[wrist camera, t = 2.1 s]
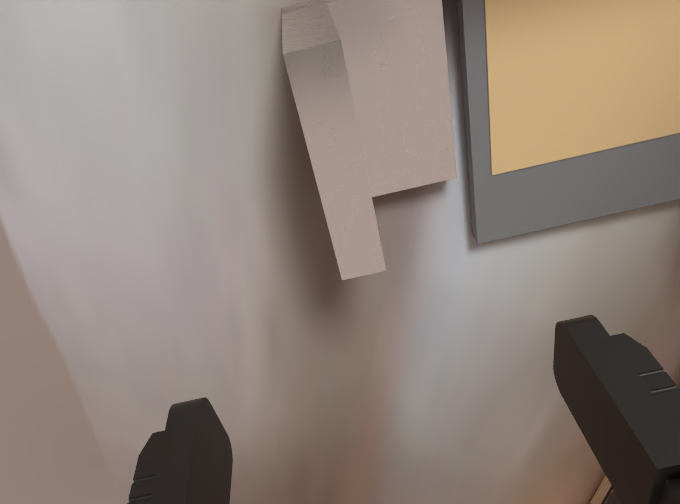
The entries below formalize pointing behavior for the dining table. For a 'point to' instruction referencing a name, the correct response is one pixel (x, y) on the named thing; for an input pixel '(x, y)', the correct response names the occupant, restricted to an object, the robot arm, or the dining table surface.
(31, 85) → the dining table surface
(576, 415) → the robot arm
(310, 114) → the bracket
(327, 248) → the dining table surface
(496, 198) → the board
